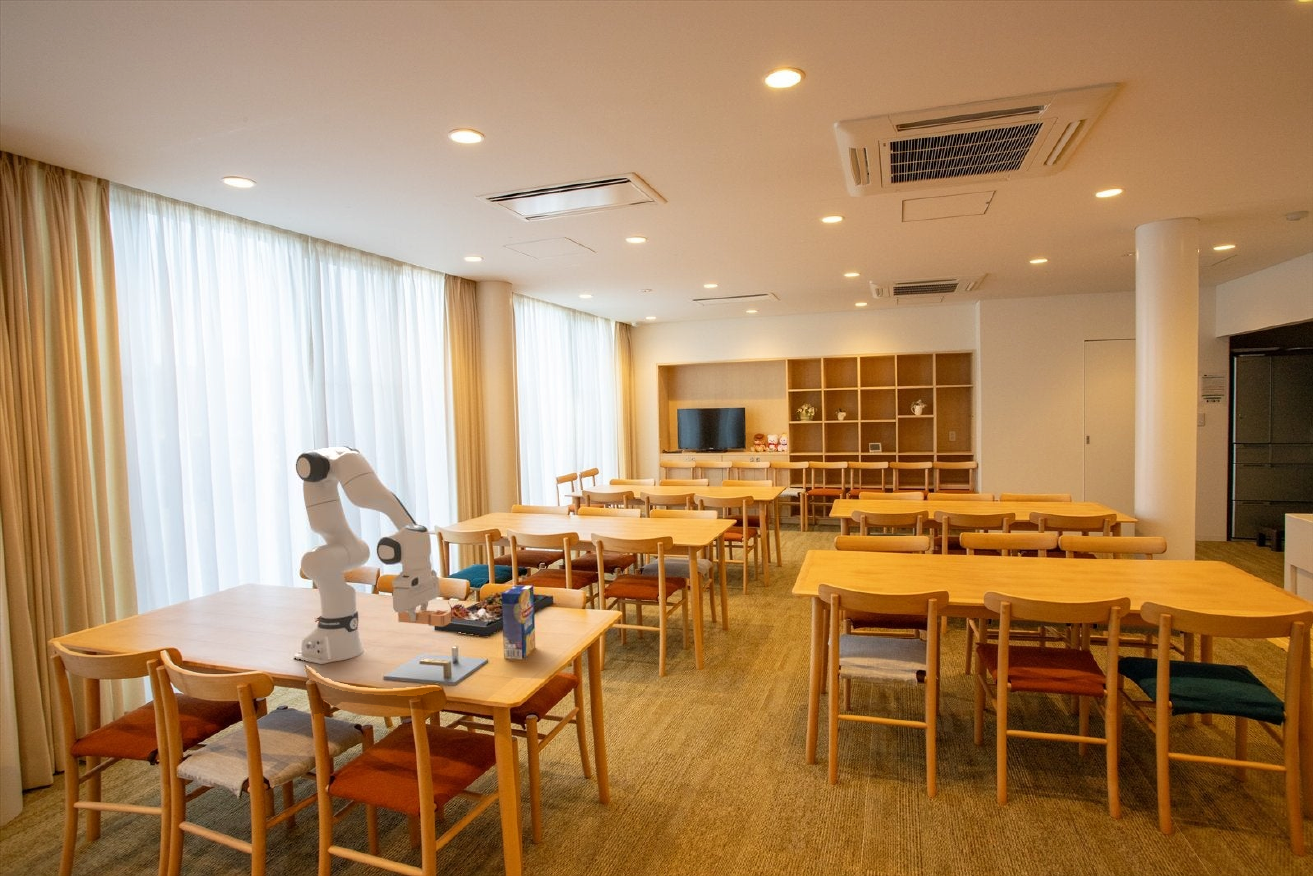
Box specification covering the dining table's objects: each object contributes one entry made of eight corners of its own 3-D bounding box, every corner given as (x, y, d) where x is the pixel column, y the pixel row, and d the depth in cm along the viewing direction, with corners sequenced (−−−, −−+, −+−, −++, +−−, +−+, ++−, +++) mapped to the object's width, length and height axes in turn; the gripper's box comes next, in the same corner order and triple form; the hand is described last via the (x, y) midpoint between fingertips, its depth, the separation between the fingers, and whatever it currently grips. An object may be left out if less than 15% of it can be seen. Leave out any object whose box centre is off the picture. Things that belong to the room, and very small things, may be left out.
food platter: (487, 639, 250) (486, 611, 250) (434, 632, 260) (433, 605, 260) (553, 606, 291) (552, 582, 291) (505, 601, 301) (504, 578, 301)
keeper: (420, 676, 211) (419, 661, 211) (424, 674, 213) (423, 658, 213) (448, 678, 208) (447, 663, 208) (451, 676, 210) (451, 660, 210)
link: (396, 623, 219) (396, 612, 219) (406, 618, 224) (406, 607, 224) (443, 626, 214) (442, 616, 214) (452, 621, 219) (452, 611, 219)
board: (383, 679, 212) (383, 676, 212) (421, 656, 232) (421, 653, 232) (454, 685, 206) (454, 682, 206) (488, 661, 225) (488, 658, 225)
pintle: (451, 663, 222) (450, 648, 222) (454, 661, 224) (453, 646, 224) (456, 663, 221) (455, 648, 221) (459, 661, 223) (459, 646, 223)
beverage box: (535, 648, 236) (533, 585, 236) (523, 660, 226) (520, 594, 225) (517, 648, 238) (514, 585, 237) (503, 659, 227) (501, 593, 226)
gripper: (427, 568, 230) (428, 608, 231) (388, 583, 210) (389, 627, 211) (444, 568, 228) (445, 609, 229) (406, 584, 209) (407, 628, 209)
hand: (418, 618), depth 220 cm, fingers closed on link, 3 cm apart
